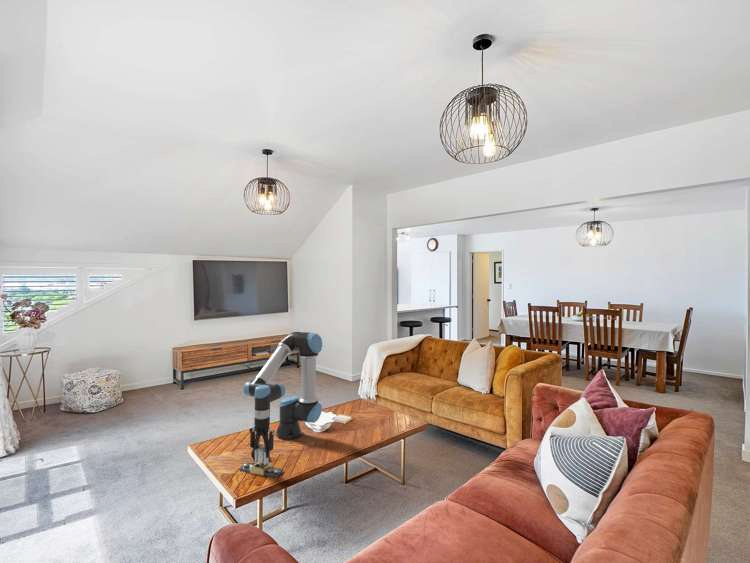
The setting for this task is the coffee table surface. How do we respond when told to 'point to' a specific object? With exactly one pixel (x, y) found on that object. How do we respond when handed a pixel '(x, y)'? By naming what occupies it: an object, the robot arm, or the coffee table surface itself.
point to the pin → (261, 456)
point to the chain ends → (261, 469)
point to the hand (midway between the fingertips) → (261, 462)
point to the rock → (253, 453)
